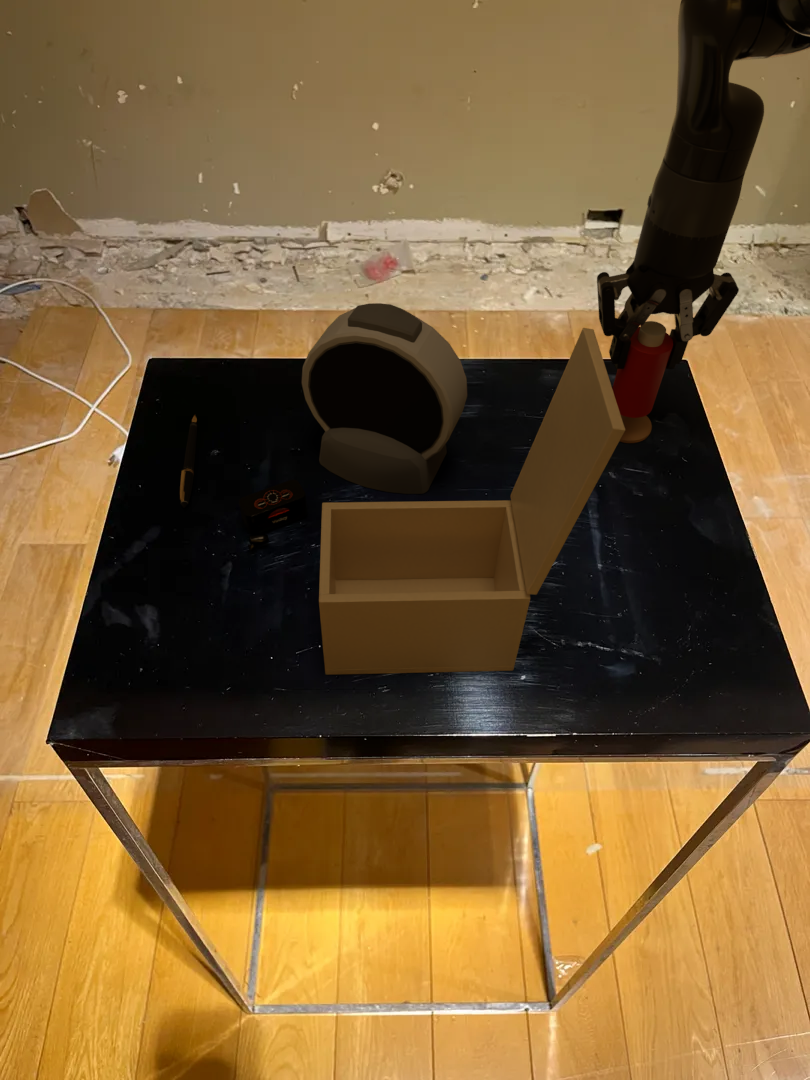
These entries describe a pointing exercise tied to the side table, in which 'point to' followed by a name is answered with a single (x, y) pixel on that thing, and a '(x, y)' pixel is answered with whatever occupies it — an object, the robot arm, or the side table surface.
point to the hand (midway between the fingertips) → (643, 363)
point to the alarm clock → (384, 397)
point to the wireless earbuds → (272, 510)
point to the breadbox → (420, 587)
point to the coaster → (635, 429)
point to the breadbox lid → (565, 459)
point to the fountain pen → (188, 465)
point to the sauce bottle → (642, 370)
